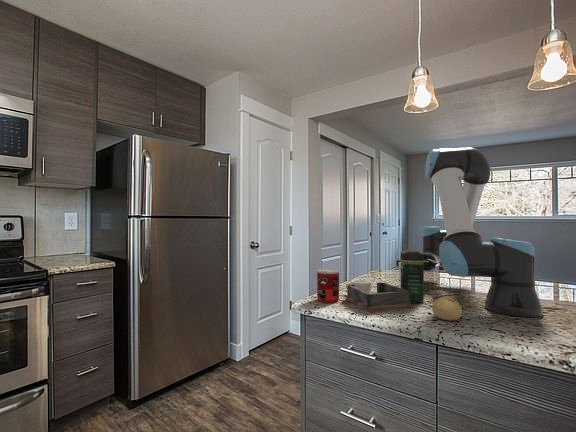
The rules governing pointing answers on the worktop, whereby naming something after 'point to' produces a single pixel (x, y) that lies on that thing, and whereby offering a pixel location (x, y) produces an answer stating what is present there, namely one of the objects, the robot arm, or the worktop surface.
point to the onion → (447, 309)
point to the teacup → (361, 284)
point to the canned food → (328, 285)
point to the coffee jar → (413, 274)
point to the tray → (380, 297)
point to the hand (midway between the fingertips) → (417, 267)
